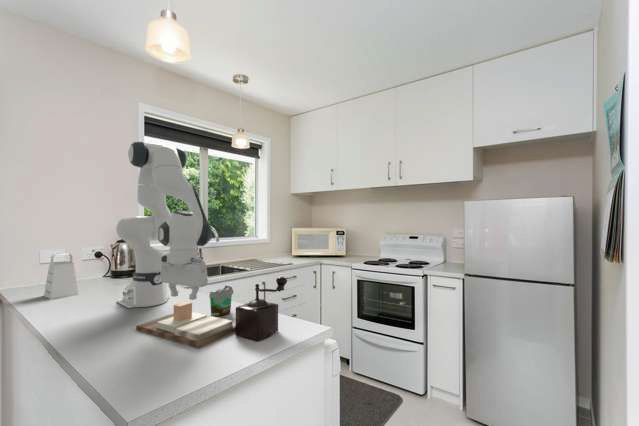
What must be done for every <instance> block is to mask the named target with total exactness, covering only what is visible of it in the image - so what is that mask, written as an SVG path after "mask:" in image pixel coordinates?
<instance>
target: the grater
mask: <svg viewBox="0 0 639 426" xmlns="http://www.w3.org/2000/svg"><path fill="white" fill-rule="evenodd" d="M63 255H66V253H60V254H52V255H51V256H50V262H49V263H48V264H49V265H48V271H47V275H46V282H45V286H44V291H43V297H45V298H47V299H49V300H53V299H60V298H67V297H71V296H72V297H73V296H78V295H79V292H78V291H79V290H78V284H77V277H76V271H75V269H76V268H75V265H74V264H75V262H73V255H72V254H71V253H68V256H69V261H60V262H59V261H58V262H54V258H55V256H63Z"/></svg>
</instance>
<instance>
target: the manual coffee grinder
mask: <svg viewBox="0 0 639 426" xmlns="http://www.w3.org/2000/svg"><path fill="white" fill-rule="evenodd" d="M275 281H276V284H277V286H276V288H275V289H274V288H273V289H272V288H270V289H269V288H260V284H258V283H256V284H255V287H254V290H255V299H252V300H251V301H249V302H248V303H244V304H241V305H239V306H236V307H235V320H234V321H235V325H234V326H235V332H234V335H235V336H237V337H239V338H242V339H245V340H249V341H253V342H257V343H258V342H261V341H264V340H266V339H268V338H270V337H272V335H274V334H277V332H278V331H279V304H278V303H273V302H269V301H267V300H264V299H263V298H262V299H261V298H260V297H259V294H260V293H263V292H266V293H267V292H269V293H270V292H271V293H275V292H282V291H285V286H286V284H287V283H288V279H287V278H286V277H284V276H278V277H277V278H276V280H275Z"/></svg>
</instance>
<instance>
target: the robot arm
mask: <svg viewBox="0 0 639 426" xmlns="http://www.w3.org/2000/svg"><path fill="white" fill-rule="evenodd" d="M127 155H128V159H129V163H130V164H131V165H132V166H134V167H137V168H139V173H138V182H137V202H138V204H139V205H140V206H141V207H143V208H145V209H148V210H149V211H151V215H149V216H147V215H146V216H145V215H133V216H126V217H122V218H121V219H119V221H117V224H116V229H115V231H116V234H117V236H118V238H119V239H121V240H122V241H124V242H125V243H126V244H127V245H129V247H130V248H131V249H132V251H133V253H134V258H135V259H134V260H135V272H133V273H132V276H133V277H132V281H131V282H130V283H129V284H127V285H126V286H125V287H124V289H123V291H122V297H121V298H118V299H116V303H118V304H119V305H120V306H123V307H125V308H127V309H133V308H144V307H145V308H148V307H153V306H158V305H162V304H164V303H166V302H168V300H169V299H170V296H171V297H174V298H175V297H178V296H179V290H177V286H178V285H179V286H184V287H185V286H186V287H190V289H191V290H192V291H191V293H189V298H188V299H189V300H193V301H195V300H197V297H198V296H197V294H198V292H199V290H200V288H203V287H206V286H207V285H208V281H209V279H208V268H207V265H206V262H205V261H204V260H203V258H198V255H199V254H198V247H204V246H206V245H207V244H209V242H210V241H211V240H212V237H213V229H212V226H211V225H210V221H208V218H207V217H206V214H205V212H204V211H205V210H204V208H203V206H202V202H201V200H200V198H199V195H198V191H197V190H196V188H195V186H194V185H193V184H191V183H190V182H189V181H188V180H187V177H185V175H184V172H183V169H184V168H185V166H186V164H187V154H186V152H185V151H184V149H183V148H181V147H178V146H172V145H167V144H164V143H154V142H143V141H133V143H131V144H130V146H129V148H128V151H127ZM167 196H169V197H173V198H175V199H177V200H180V201H182V202H183V203H185V205H186V206H187V208H188V210H175V211H173V212H171V211H170V210H169V207H168V205H167ZM151 241H159V243H160V244H162V245H163V246H164V247H168V248H169V247H170V248H169V252H167V253H165V254H164V252H162V250H160V249H159V248H156V247H154V246H151ZM167 284H168V287H167ZM167 288H169V291H170V295H168V289H167Z"/></svg>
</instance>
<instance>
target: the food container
mask: <svg viewBox="0 0 639 426" xmlns="http://www.w3.org/2000/svg"><path fill="white" fill-rule="evenodd" d="M233 294H234V288H233V287H232V286H230V285H224V288H221V289H218V290H215V291H210V292H209V297H208V298H210V299H209V300H210V301H209V302H210V316H213V317H218V318H222V317H223V318H224V317H226V316H228V315H230V314H231V307H232V298H233Z"/></svg>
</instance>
